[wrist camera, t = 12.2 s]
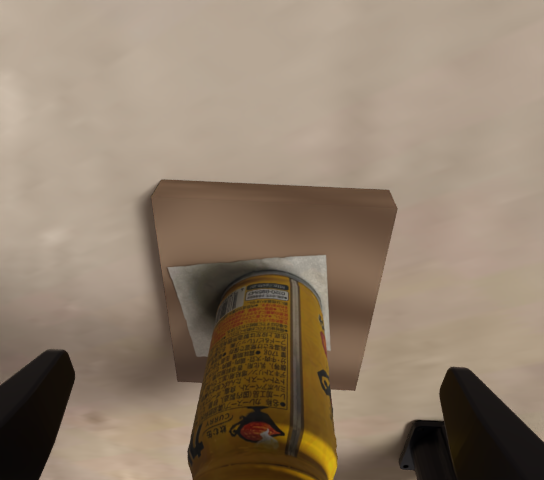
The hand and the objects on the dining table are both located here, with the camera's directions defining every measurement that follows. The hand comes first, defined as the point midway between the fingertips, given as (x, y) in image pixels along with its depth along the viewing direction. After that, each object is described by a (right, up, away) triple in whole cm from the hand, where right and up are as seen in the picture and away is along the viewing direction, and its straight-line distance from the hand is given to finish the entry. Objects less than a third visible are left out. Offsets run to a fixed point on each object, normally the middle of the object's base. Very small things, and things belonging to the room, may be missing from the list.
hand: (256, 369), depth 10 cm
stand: (0, 0, +16) cm, 16 cm away
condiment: (-1, -1, +14) cm, 14 cm away
